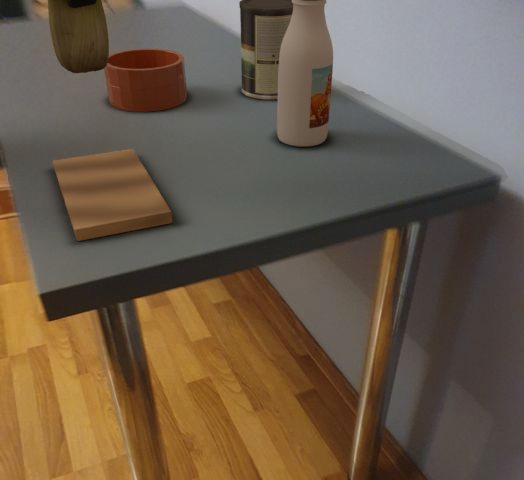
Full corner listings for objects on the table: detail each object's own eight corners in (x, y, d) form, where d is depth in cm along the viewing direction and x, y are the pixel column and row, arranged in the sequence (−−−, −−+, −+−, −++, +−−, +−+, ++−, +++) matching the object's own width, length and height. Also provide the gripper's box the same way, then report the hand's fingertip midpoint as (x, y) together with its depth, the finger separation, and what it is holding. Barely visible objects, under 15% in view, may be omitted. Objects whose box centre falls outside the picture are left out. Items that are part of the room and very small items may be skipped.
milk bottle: (290, 151, 80) (296, -11, 67) (268, 133, 85) (270, -20, 72) (336, 143, 82) (351, -15, 69) (312, 126, 88) (321, -24, 74)
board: (54, 171, 74) (51, 160, 73) (134, 158, 78) (132, 148, 77) (77, 241, 61) (74, 229, 60) (172, 223, 64) (171, 211, 63)
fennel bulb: (113, 63, 62) (91, -69, 54) (115, 76, 59) (93, -64, 51) (60, 67, 61) (30, -68, 53) (59, 79, 58) (27, -62, 50)
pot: (93, 100, 96) (85, 60, 92) (150, 82, 104) (145, 44, 100) (146, 117, 90) (140, 75, 86) (202, 97, 98) (200, 57, 94)
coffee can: (230, 94, 99) (227, 3, 90) (258, 79, 106) (258, -6, 97) (280, 103, 96) (282, 10, 86) (306, 88, 102) (311, -1, 93)
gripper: (-77, -263, 45) (-5, 0, 57) (40, -286, 38) (94, 21, 50) (5, -251, 49) (56, -10, 62) (124, -270, 42) (154, 8, 54)
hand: (72, 2), depth 56 cm, fingers closed on fennel bulb, 2 cm apart
